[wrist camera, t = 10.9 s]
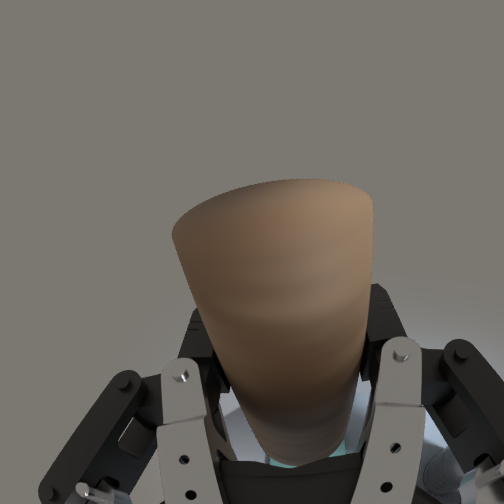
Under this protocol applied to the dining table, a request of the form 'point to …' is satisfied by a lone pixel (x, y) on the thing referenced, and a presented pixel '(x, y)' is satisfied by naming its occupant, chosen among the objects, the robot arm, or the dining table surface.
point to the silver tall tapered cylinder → (443, 473)
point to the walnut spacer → (285, 304)
